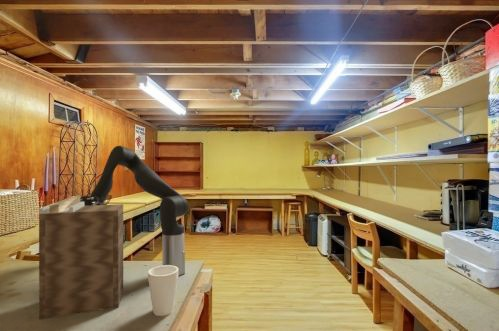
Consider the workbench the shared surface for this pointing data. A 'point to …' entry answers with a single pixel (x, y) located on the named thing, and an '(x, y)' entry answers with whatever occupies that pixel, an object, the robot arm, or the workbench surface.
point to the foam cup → (163, 288)
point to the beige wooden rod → (63, 204)
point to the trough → (71, 209)
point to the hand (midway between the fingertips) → (82, 200)
